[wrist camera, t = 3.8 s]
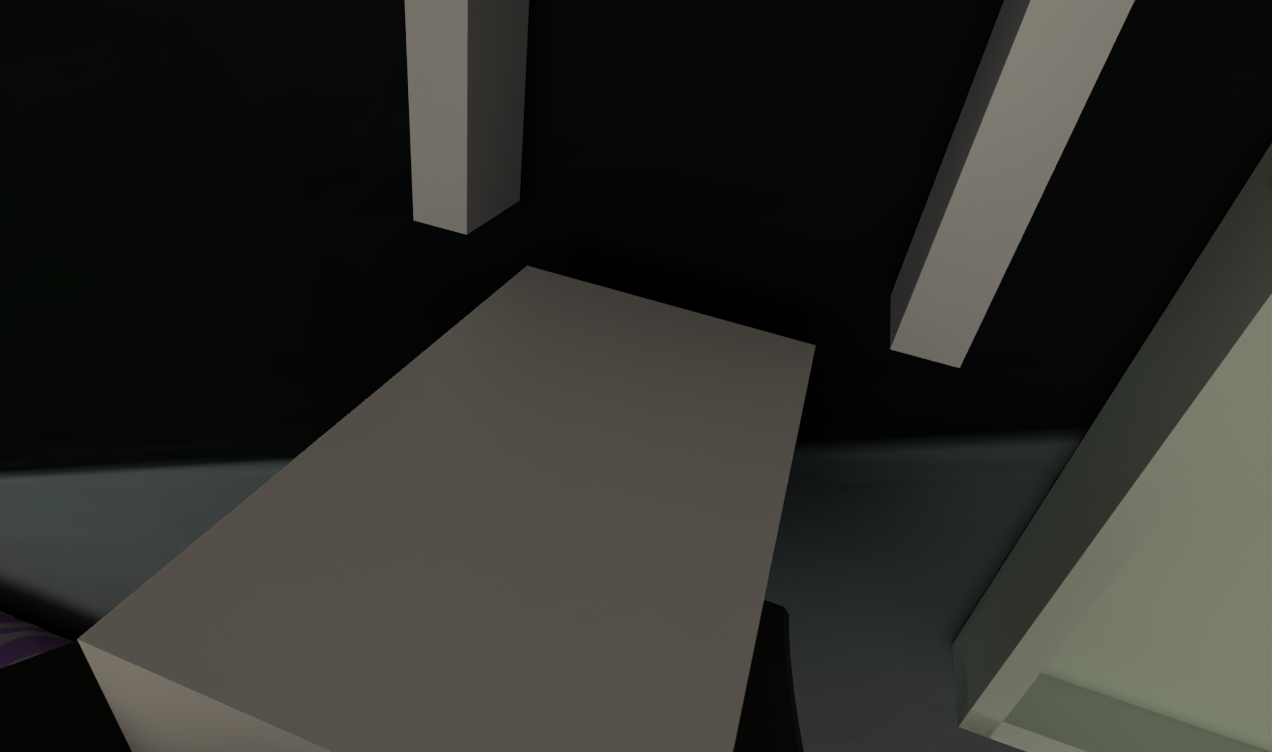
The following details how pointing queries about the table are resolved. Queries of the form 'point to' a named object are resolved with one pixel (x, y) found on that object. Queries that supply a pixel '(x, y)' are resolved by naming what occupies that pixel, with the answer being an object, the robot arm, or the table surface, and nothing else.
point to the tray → (1151, 541)
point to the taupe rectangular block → (489, 549)
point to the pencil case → (24, 640)
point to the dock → (955, 210)
